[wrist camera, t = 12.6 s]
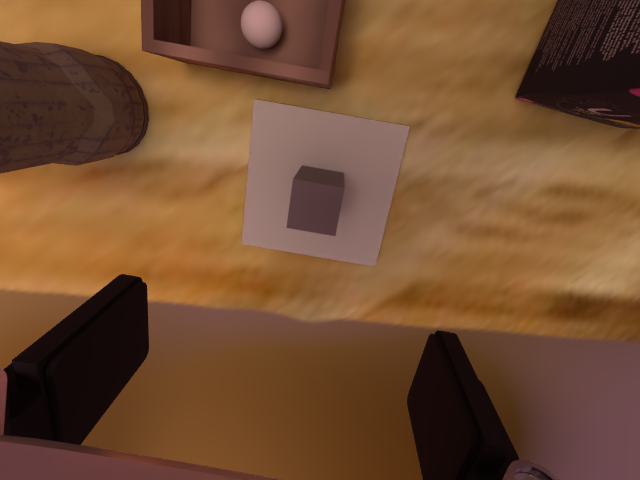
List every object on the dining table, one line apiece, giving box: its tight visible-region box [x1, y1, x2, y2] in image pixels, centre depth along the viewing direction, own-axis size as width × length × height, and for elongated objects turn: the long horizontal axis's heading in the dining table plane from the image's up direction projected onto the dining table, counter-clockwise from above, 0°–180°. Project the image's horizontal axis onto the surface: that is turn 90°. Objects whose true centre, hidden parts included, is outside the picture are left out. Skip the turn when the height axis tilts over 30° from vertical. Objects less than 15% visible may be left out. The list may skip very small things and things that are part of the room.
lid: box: [242, 99, 410, 267], centre depth 31 cm, size 14×14×8 cm
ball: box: [241, 0, 283, 49], centre depth 27 cm, size 3×3×3 cm
